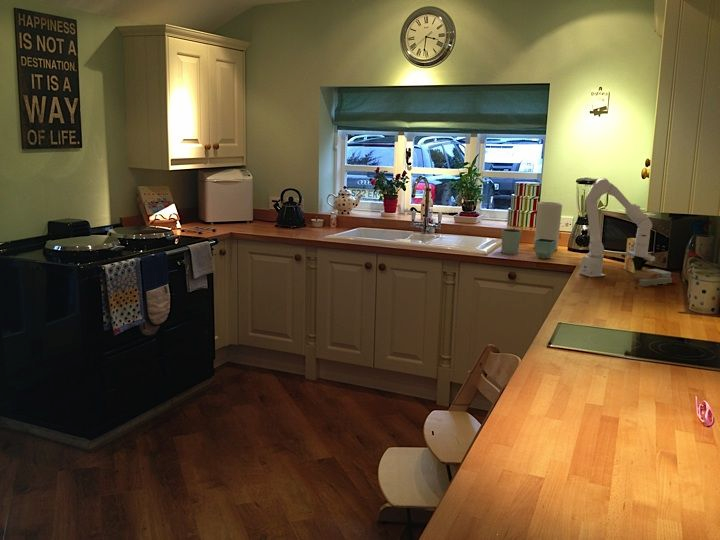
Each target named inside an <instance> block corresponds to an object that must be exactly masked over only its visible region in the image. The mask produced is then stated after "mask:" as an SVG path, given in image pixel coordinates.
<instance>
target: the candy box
mask: <svg viewBox="0 0 720 540" xmlns="http://www.w3.org/2000/svg"><path fill="white" fill-rule="evenodd" d="M635 240H636V237H635V238H634V237H629V238H627V241H626V250H625V252H626V251H629V250H630V251H634V248H635ZM632 258H634V256H631V255H626V254H625V258H624V265H623V266H624V267H623V270H624V271H626V272H627V271H628V272H630V273H632V274H635V267H634V263H633V261H632Z"/></svg>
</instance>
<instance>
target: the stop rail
mask: <svg viewBox="0 0 720 540" xmlns="http://www.w3.org/2000/svg"><path fill="white" fill-rule="evenodd" d="M673 279H674V278H673V277H671V278H670V277H662V278H652V279H642V280H639V282H638V286H640V285H641V286H640V287H643V286H644V287H650V286H649V285H654V286H658V285H657V284H663V285H668V284H667V283H673Z"/></svg>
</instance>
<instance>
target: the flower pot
mask: <svg viewBox="0 0 720 540" xmlns="http://www.w3.org/2000/svg"><path fill="white" fill-rule="evenodd" d="M555 245H556V240H549V239H541V238H539V239H537V240H535V248H534V251H535V255H536V257H537V258H539V257H541V258H540V259H546V258H548V259H549V257H550V258H551V257H552V255H553V254H554V252H555V251H554V249H555Z"/></svg>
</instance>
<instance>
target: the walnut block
mask: <svg viewBox="0 0 720 540" xmlns="http://www.w3.org/2000/svg"><path fill="white" fill-rule="evenodd" d="M648 270H649V269H642V270H635V273H633V281H636V282H638V281H639V280H642V279H652V278H658V276H659V273H655V272H651V271H648Z"/></svg>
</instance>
